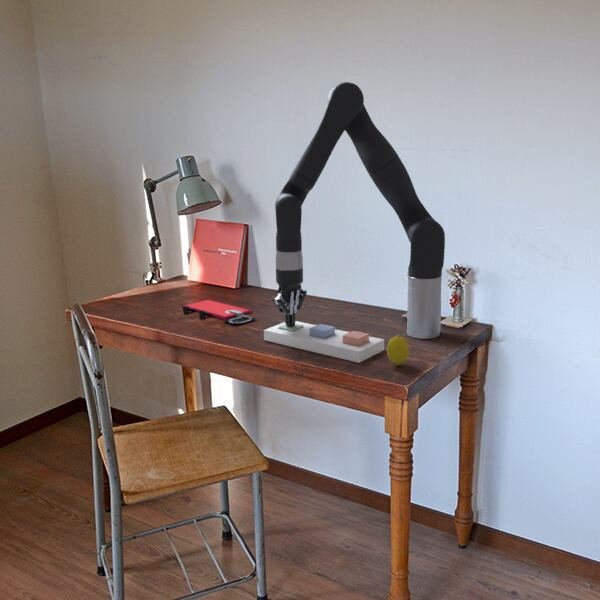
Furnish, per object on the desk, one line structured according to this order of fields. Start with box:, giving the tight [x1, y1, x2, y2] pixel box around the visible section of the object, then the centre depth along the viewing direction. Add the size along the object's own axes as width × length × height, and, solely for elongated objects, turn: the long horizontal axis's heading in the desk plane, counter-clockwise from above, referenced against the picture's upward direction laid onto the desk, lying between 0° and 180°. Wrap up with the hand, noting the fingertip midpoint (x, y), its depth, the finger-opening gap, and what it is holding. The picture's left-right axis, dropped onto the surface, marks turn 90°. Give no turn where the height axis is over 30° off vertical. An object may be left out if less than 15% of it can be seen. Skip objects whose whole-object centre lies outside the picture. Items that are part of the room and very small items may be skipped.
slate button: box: [309, 323, 336, 339], centre depth 194 cm, size 5×5×2 cm
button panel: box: [263, 320, 385, 364], centre depth 195 cm, size 12×32×3 cm, turn 52°
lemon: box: [386, 334, 410, 367], centre depth 178 cm, size 6×6×8 cm
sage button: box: [279, 324, 303, 332], centre depth 201 cm, size 5×5×2 cm
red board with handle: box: [180, 298, 257, 325], centre depth 227 cm, size 30×3×15 cm
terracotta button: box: [343, 330, 370, 347], centre depth 188 cm, size 5×5×2 cm
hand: (290, 326), depth 201 cm, fingers closed
